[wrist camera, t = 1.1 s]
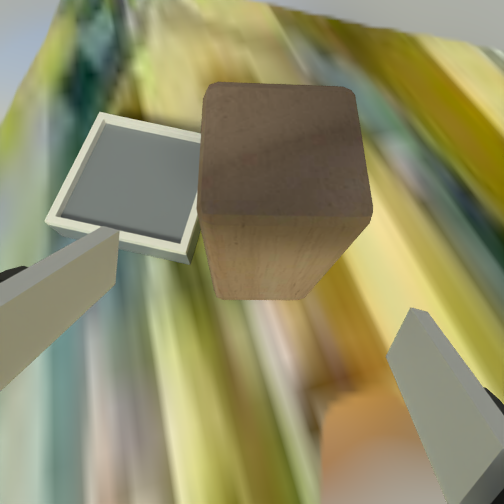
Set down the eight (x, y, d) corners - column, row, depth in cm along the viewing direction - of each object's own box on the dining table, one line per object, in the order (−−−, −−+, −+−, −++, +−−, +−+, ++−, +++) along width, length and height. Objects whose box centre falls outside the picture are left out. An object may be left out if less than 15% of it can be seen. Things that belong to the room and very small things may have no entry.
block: (217, 219, 39) (202, 73, 20) (300, 220, 40) (359, 80, 21) (214, 301, 35) (193, 216, 17) (305, 302, 36) (383, 219, 17)
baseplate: (222, 157, 42) (221, 137, 39) (190, 264, 37) (185, 252, 33) (110, 134, 43) (99, 112, 39) (62, 236, 37) (44, 221, 34)
